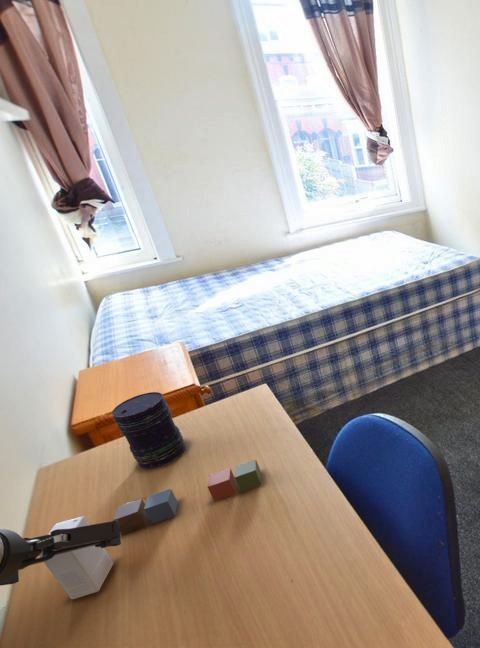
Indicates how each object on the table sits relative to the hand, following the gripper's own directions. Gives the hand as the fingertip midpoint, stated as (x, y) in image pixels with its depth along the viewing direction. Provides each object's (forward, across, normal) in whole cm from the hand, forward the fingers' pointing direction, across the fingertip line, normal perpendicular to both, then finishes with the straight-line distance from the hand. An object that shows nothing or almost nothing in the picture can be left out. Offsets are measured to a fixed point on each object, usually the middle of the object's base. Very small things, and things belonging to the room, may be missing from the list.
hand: (68, 554), depth 77 cm
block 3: (+16, +20, +4) cm, 26 cm away
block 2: (+16, +9, +4) cm, 18 cm away
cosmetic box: (+7, 0, -5) cm, 9 cm away
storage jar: (+32, +5, +20) cm, 38 cm away
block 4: (+16, +25, +4) cm, 30 cm away
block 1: (+16, +4, +4) cm, 16 cm away
